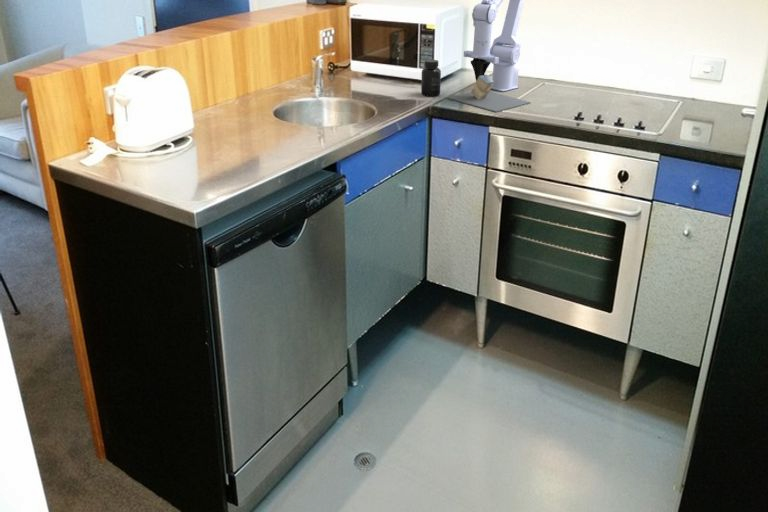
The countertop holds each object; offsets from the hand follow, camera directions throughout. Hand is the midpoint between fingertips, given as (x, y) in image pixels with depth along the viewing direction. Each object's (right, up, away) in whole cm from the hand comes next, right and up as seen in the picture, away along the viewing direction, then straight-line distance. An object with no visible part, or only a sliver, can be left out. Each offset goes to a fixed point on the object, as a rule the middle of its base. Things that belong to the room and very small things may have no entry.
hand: (479, 80), depth 249 cm
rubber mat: (+3, -7, -1) cm, 8 cm away
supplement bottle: (-17, -4, +6) cm, 18 cm away
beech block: (0, -4, +2) cm, 5 cm away
